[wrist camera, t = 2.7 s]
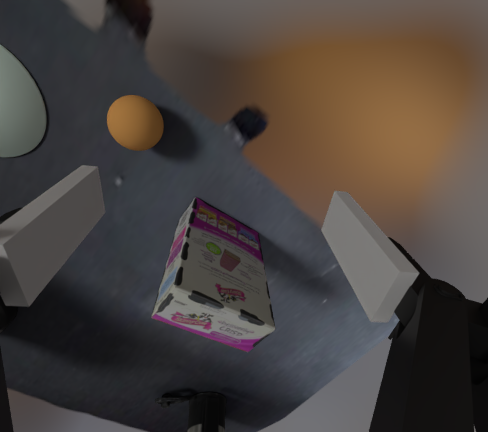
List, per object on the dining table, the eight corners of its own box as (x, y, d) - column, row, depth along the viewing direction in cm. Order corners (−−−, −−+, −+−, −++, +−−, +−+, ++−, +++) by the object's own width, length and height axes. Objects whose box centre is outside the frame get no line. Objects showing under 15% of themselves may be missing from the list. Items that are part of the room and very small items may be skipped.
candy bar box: (177, 221, 37) (146, 319, 23) (195, 195, 35) (173, 285, 21) (241, 254, 41) (248, 356, 27) (260, 232, 39) (278, 330, 25)
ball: (168, 145, 31) (158, 160, 27) (121, 139, 31) (101, 154, 26) (167, 96, 29) (156, 103, 24) (115, 88, 28) (93, 94, 23)
